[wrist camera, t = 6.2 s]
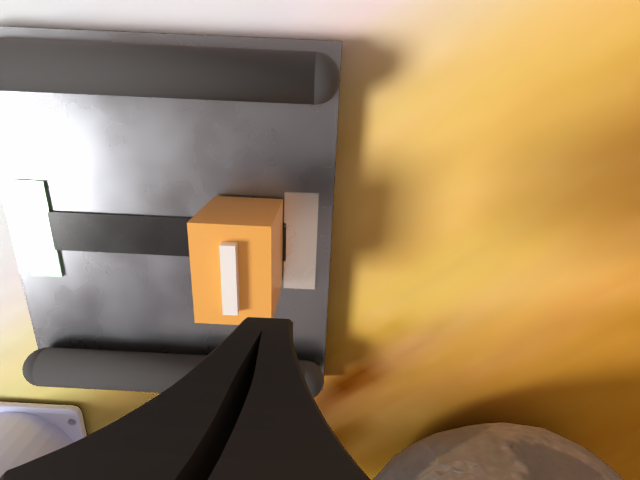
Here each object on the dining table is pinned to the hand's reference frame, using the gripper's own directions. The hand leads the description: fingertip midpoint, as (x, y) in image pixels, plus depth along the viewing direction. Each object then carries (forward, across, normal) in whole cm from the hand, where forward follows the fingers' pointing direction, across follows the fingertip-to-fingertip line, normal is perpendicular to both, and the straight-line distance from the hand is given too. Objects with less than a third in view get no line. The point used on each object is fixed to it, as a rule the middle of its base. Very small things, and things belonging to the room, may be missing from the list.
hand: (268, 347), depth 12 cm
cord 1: (+9, +6, +8) cm, 13 cm away
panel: (+10, +6, 0) cm, 12 cm away
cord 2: (+9, +6, -7) cm, 13 cm away
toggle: (+9, +2, 0) cm, 9 cm away
